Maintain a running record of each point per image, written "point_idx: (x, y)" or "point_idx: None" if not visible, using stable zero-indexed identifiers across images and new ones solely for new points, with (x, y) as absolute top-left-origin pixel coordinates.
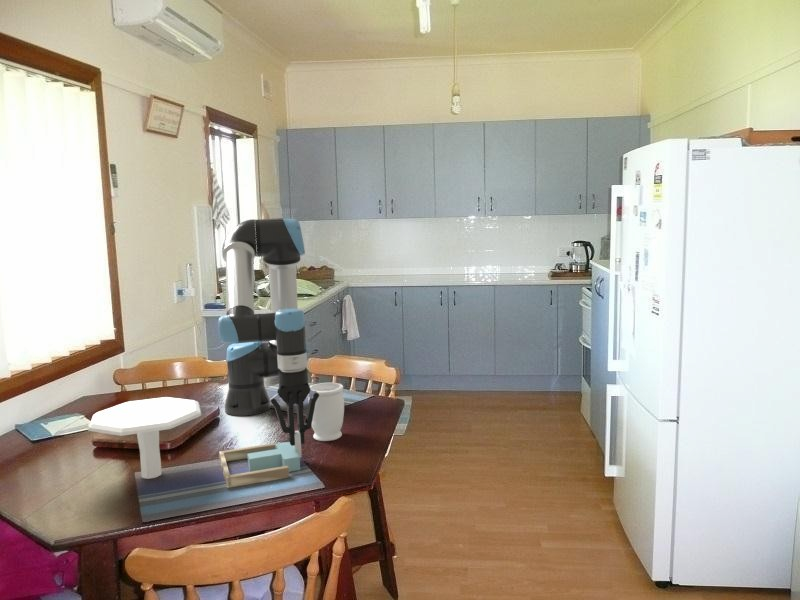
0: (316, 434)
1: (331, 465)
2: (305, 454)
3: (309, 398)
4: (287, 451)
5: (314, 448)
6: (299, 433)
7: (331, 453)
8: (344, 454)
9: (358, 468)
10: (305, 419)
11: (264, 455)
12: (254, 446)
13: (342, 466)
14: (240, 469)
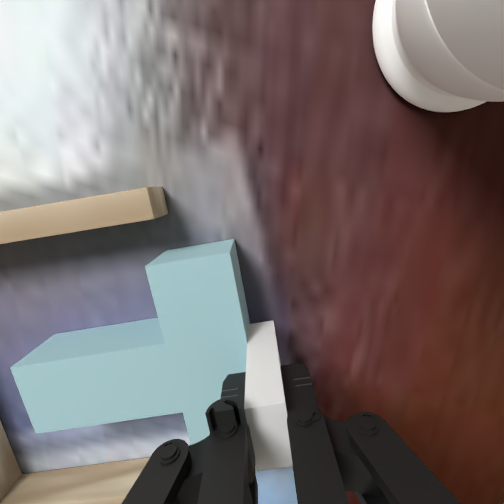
0: (398, 46)
1: (390, 405)
2: (301, 262)
3: None
4: (214, 391)
5: (352, 195)
6: (290, 463)
7: (417, 282)
8: (469, 309)
9: (480, 454)
10: (377, 475)
11: (102, 411)
12: (31, 213)
13: (428, 423)
14: (28, 352)
